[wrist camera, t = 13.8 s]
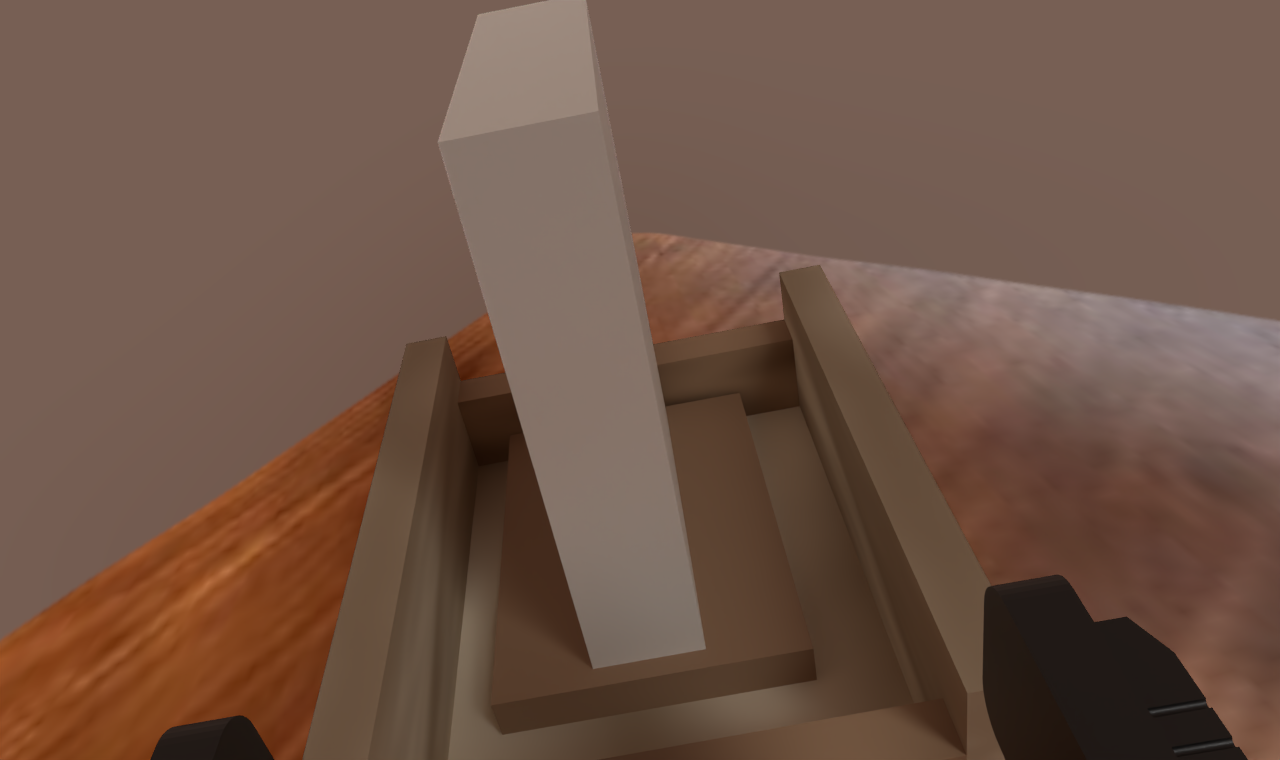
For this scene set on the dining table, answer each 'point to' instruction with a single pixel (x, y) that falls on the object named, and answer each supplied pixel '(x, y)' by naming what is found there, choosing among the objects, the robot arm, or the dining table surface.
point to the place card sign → (601, 416)
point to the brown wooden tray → (811, 534)
